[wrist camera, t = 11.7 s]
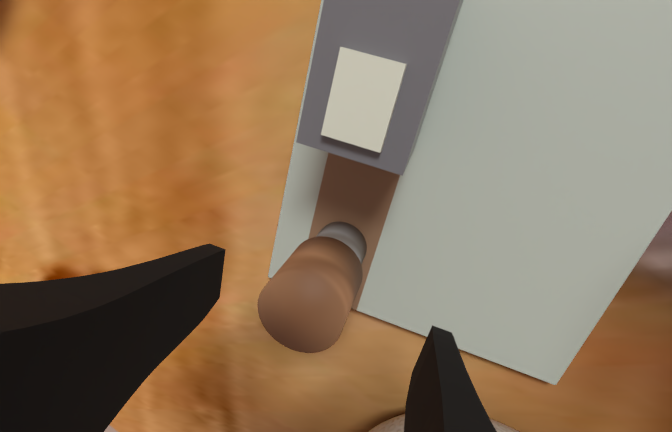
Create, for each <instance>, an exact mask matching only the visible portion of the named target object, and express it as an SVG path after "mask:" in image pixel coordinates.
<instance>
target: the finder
mask: <svg viewBox="0 0 672 432" xmlns="http://www.w3.org/2000/svg"><path fill="white" fill-rule="evenodd" d="M462 3H463V0H324V2H323V7H322V13H321V18H320V23H319V28H318V33H317V38H316V43H315V48H314V53H313V59H312V64H311V69H310V74H309V79H308V84H307V89H306V94H305V100H304V105H303V110H302V115H301V120H300V125H299V130H298V135H297V140H296V142H297V143H300V144H303V145H306V146H309V147H313V148H316V149H319V150H322V151H325V152H329V153H332V154H335V155H338V156H341V157H344V158H348V159H351V160H354V161H357V162H360V163H364V164H367V165H370V166H373V167H376V168H380V169H383V170H386V171H389V172H392V173H396V174H399V175H402V176H403V174H404V172H405V169H406V167H407V165H408V162H409V160H410V158H411V156H412V153H413V151H414V149H415V146H416V143H417V140H418V136H419V133H420V130H421V127H422V124H423V121H424V118H425V115H426V112H427V109H428V106H429V103H430V100H431V97H432V94H433V91H434V88H435V85H436V82H437V79H438V76H439V73H440V70H441V67H442V64H443V61H444V58H445V54H446V51H447V48H448V45H449V42H450V39H451V36H452V33H453V30H454V27H455V24H456V21H457V18H458V15H459V12H460V9H461V6H462Z"/></svg>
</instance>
